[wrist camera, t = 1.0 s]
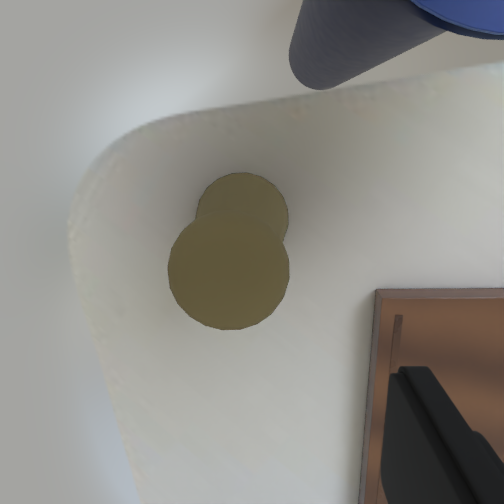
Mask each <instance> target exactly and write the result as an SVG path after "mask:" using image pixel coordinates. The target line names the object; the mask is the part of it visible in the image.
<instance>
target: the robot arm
mask: <svg viewBox="0 0 504 504" xmlns="http://www.w3.org/2000/svg"><path fill="white" fill-rule="evenodd" d="M380 472H381V482H382V486H383V490H384V493H385V496H386V499H387V502H388V504H504V463H503V462H502V461H501V459H500V458H499V456H498V455H497V454H496V452H495V451H494V449H493V448H492V446H491V445H490V444H489V442H488V441H487V440H486V438H485V437H484V436H483V435H482V434H481V433H479V432H477V431H472V429H471V428H470V427H469V425H468V424H467V422H466V421H465V419H464V418H463V416H462V415H461V413H460V412H459V410H458V409H457V408H456V406H455V405H454V403H453V402H452V400H451V399H450V397H449V396H448V394H447V393H446V391H445V390H444V389H443V387H442V386H441V384H440V383H439V381H438V380H437V378H436V377H435V375H434V374H433V372H432V371H431V370H430V368H429V367H427V366H400V367H399V369H398V372H397V373H391V374H390V377H389V385H388V396H387V406H386V417H385V427H384V437H383V448H382V458H381V470H380Z"/></svg>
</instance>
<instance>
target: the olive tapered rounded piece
mask: <svg viewBox="0 0 504 504" xmlns="http://www.w3.org/2000/svg"><path fill="white" fill-rule="evenodd" d="M287 227H288V209H287V206H286V204H285V201H284V198H283V196H282V195H281V193H280V192H279V191H278V190H277V188H276V187H275V186H274V185H273V184H272V183H270V182H268V181H267V180H265V179H264V178H262V177H260V176H257V175H253V174H249V173H233V174H229V175H227V176H224V177H222V178H219V179H217V180H216V181H215V182H214V183H213V184H211V185H210V186H209V187H208V188H207V189H206V190H205V192H204V194H203V195H202V197H201V199H200V200H199V204H198V209H197V213H196V219H195V220H194V221H193V222H192V223H191V224H190V225H188V226H187V227H186V228H185V229H184V230H183V231H182V232H181V233H180V235H179V237H178V238H177V240H176V242H175V243H174V245H173V247H172V248H171V253H170V258H169V262H168V276H169V284H170V289H171V291H172V293H173V295H174V297H175V299H176V301H177V303H178V305H179V306H180V307H181V308H182V309H183V310H184V311H185V312H186V313H187V314H188V315H189V316H190V317H191V318H193V319H195V320H196V321H198V322H200V323H202V324H203V325H205V326H209V327H213V328H217V329H221V330H241V329H244V328H247V327H250V326H253V325H256V324H258V323H259V322H261V321H262V320H264V319H265V318H267V317H268V316H269V315H271V314H272V313H273V311H274V310H275V309H276V307H277V306H278V305H279V303H280V302H281V301H282V299H283V297H284V295H285V291H286V288H287V285H288V282H289V259H288V255H287V252H286V250H285V247H284V244H283V240H284V237H285V233H286V230H287Z"/></svg>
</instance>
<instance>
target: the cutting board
mask: <svg viewBox="0 0 504 504" xmlns="http://www.w3.org/2000/svg"><path fill="white" fill-rule="evenodd" d="M400 366H427V367H429V368H430V370H431V371H432V372H433V374H434V375H435V377H436V378H437V380H438V381H439V383H440V384H441V386H442V387H443V389H444V390H445V391H446V393H447V394H448V396H449V397H450V399H451V400H452V402H453V403H454V405H455V406H456V408H457V409H458V410H459V412H460V413H461V415H462V416H463V418H464V419H465V421H466V422H467V424H468V425H469V427H470V428H471V429H472V431H477V432H479V433H481V434H482V435H483V436H484V437H485V438H486V440H487V441H488V442H489V444H490V445H491V446H492V448H493V449H494V451H495V452H496V454H497V455H498V456H499V458H500V459H501V461H502V462H503V463H504V288H479V289H376V298H375V310H374V322H373V335H372V347H371V359H370V371H369V383H368V396H367V408H366V420H365V432H364V444H363V457H362V469H361V481H360V493H359V504H388V502H387V499H386V496H385V493H384V490H383V486H382V482H381V472H380V470H381V458H382V448H383V437H384V427H385V417H386V406H387V396H388V385H389V377H390V374H391V373H397V372H398V369H399V367H400Z"/></svg>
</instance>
